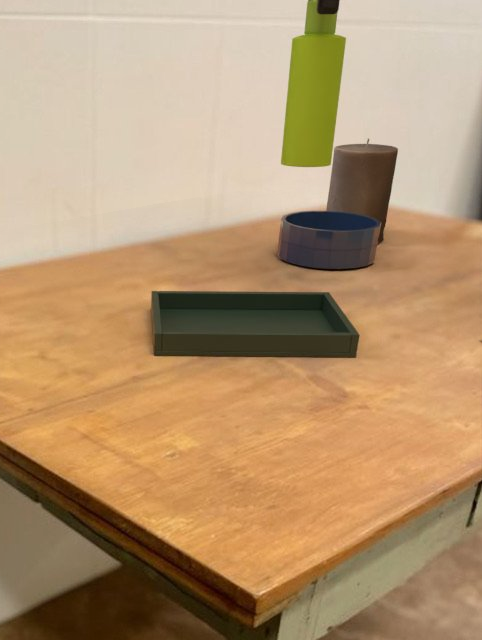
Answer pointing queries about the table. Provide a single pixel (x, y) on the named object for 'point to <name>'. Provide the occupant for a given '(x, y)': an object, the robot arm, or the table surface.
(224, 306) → the tray
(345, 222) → the bowl
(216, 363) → the table surface
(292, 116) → the soap dispenser
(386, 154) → the pillar candle
